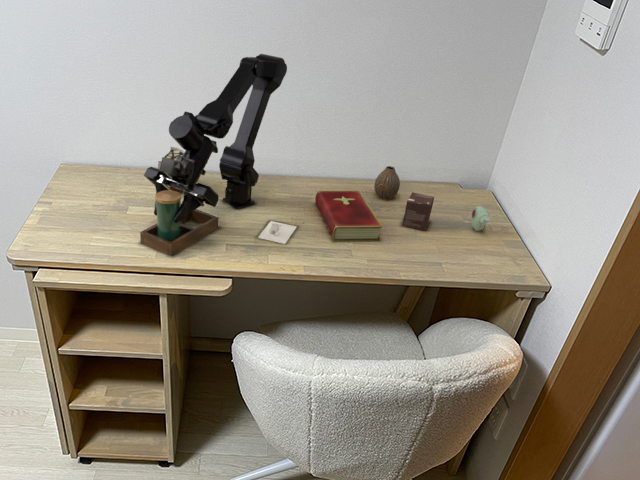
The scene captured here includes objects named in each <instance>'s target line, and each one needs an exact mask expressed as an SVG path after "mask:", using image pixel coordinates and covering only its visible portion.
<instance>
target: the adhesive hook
mask: <svg viewBox="0 0 640 480" xmlns="http://www.w3.org/2000/svg"><path fill="white" fill-rule="evenodd" d="M279 223H280V222H277V221H273V222H272V223H271V226H270V228H269V229H268V233H269V234H272V235H274V236H278V235H279V234H280V233H281V231H280V227H281V226H282V225H281V224H279Z"/></svg>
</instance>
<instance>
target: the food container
mask: <svg viewBox="0 0 640 480" xmlns="http://www.w3.org/2000/svg"><path fill="white" fill-rule="evenodd" d="M184 153H185V151H184V149H180V148H178V147H174V146H170V150H169V152H168V153H166V154H165V155H164V157H165V158H169V159H173V160H176V159H177V157H178V156H179V155H180V156H183V155H184ZM161 161H162V160H158V163H157V169H160V165H161ZM163 172H164V171H163ZM164 173H165V174H166V175H167V176H169V175H168V174H167V172H164ZM169 177H170V178H172V177H171V176H169ZM177 185H178V184H177ZM169 190H172V191H177V192H179V193H181V192H183V191H182V190H179V189H177V188H174V187H171V186H170V188H169Z"/></svg>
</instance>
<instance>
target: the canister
mask: <svg viewBox="0 0 640 480" xmlns="http://www.w3.org/2000/svg"><path fill="white" fill-rule="evenodd" d="M155 201H156V205H157V216H156V224H157V233H158V237H160V238H162V239H165V240H167V241H170V242H172V241H174V240H175V239H177V238H179V237H181V220H180V221H179V222H178V223H175V222H174V218H175V216H176V214H177V212H178V210H179V208H180V206H181V204H182V194H181V192H177V191H172V190H164V191H160V192H158V193H157V194H156V193H155Z"/></svg>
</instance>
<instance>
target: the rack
mask: <svg viewBox="0 0 640 480" xmlns="http://www.w3.org/2000/svg"><path fill="white" fill-rule="evenodd" d="M189 220H190V221H192V222H196V223H198V224H200V225H198V226H196V227H195V228H194V227H191V226H188V225H186V224H183V223H186V222H187V221H189ZM219 221H220V217H219V216H216V215H214V214H210V213H208V212H205V211H202V210H200V209H198V208H197V209H195V210H194V211H192V212H191V213H189V214H188V215H187V216H185V217H184V218H183V219H182V220H181V237H179V238H177V239H175V240H174V241H172V242H170V241H167V240H165V239H162V238H160V237H158V233H157V223H155V224H153V225H150V226H149V227H147V228H145V229H143V230H141V231H140V232H139V234H140V236H139V237H140V244H141V245H144V246H147V247H149V248H151V249H154V250H156V251H158V252H161V253H163V254H166V255H168V256H171V257H173V256H174V255H176V254H178V253H179V252H181V251H183V250H184V249H186V248H188V247H190V246H191V245H193V244H194V243H196V242H197V241H199V240H201V239H203V238H204V237H206V236H207V235H210V234H211V233H213V232H214V231H216V230H218V229H219Z"/></svg>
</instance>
